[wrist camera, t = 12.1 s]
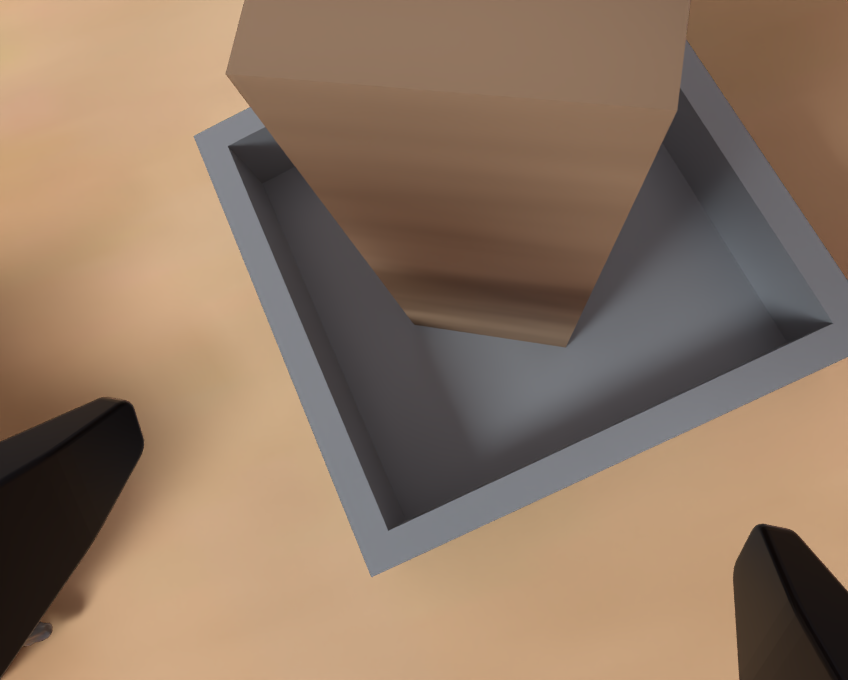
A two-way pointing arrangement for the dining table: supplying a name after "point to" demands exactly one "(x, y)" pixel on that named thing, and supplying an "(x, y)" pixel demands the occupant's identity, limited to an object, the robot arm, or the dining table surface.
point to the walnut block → (470, 140)
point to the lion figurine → (39, 633)
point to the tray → (525, 361)
